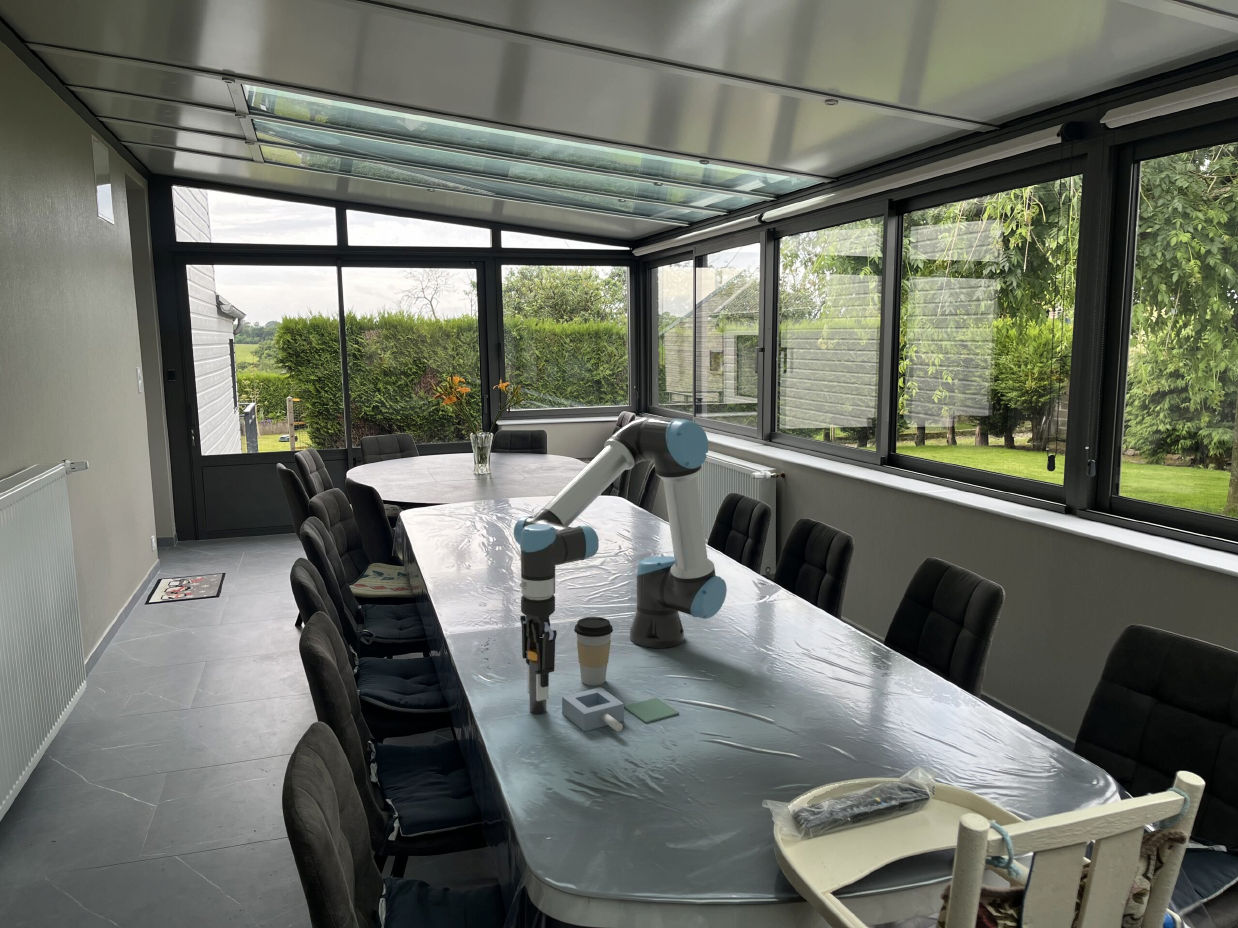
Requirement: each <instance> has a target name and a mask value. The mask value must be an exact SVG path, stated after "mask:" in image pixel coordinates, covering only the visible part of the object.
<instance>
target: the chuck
mask: <svg viewBox="0 0 1238 928" xmlns="http://www.w3.org/2000/svg"><path fill="white" fill-rule="evenodd" d="M624 706H625V703H624V702H622V701H621V700H619V699H618V698H617V697H616V696H614V695H612V694H611V693H610V692H609V691H607V690H606V689H604V688H602V687H601V686H600V687H596V688H591V689H587V690H583V691H579V692H576V693H571V694H567V695H563V696H561V714H562V715H563V716H564V717H566V718H567V719H569V720H570V721H571V722H572V723H573V724H575V726H577V727H578V728H579V729H580V730H582V731H583V732H587V731H591V730H595V729H599V728H602V727H607V726H609V727H611V728H612V729H613V730H614V731H616V732H617V733H619V732H621V731H622V730H623V728H624V727H623V724H622V723H621V722H623V721H625V719H624V718H625V708H624Z"/></svg>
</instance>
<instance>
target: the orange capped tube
mask: <svg viewBox="0 0 1238 928" xmlns="http://www.w3.org/2000/svg"><path fill="white" fill-rule="evenodd" d="M528 659H529V680H530V694H529V713H530V714H532V715H543V714H545V713H546V712H547V705H548V704H547V702H548V701H547V700H548V699H545V700H541V701H537V700H536V672H535V671H538V660H537V648H534V649H529V650H528Z"/></svg>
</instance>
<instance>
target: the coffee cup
mask: <svg viewBox="0 0 1238 928" xmlns="http://www.w3.org/2000/svg"><path fill="white" fill-rule="evenodd" d="M573 631H574V633H576V639H577V640H576V646H577V658H578V663H579V672H580V681H581V683H583V684H585V685H587V686H601V685H603V684H604V683H606V679H607V678H606V677H607V670H608V664H609V658H610V652H611V651H610V650H611V635H612V634H613V631H614V628H613V625H612V624H611V622H610V620H609V619H607V618H605V617H600V616H587V617H582V618H580V619H578V620H577V623H576V624H575V626H574V629H573Z"/></svg>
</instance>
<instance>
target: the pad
mask: <svg viewBox="0 0 1238 928" xmlns="http://www.w3.org/2000/svg"><path fill="white" fill-rule="evenodd" d="M624 710H626V711H627V712H629V713H631V714H632V715H633V716H635V717H636V718H637V719H638V720H640V721H642V722H643V723H645V724H649V723H653V722H656V721H660V720H663V719H666V718H670V717H673V716H679V715H680V712H679V711H677V710H676V709H674V708H673V707H672V706H670V705H669V704H667V703H666V702H664V701H662V700H661V699H660V698H658V697H653V698H649V699H645V700H642V701H639V702H635V703H630V704H626V705H624Z"/></svg>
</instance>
